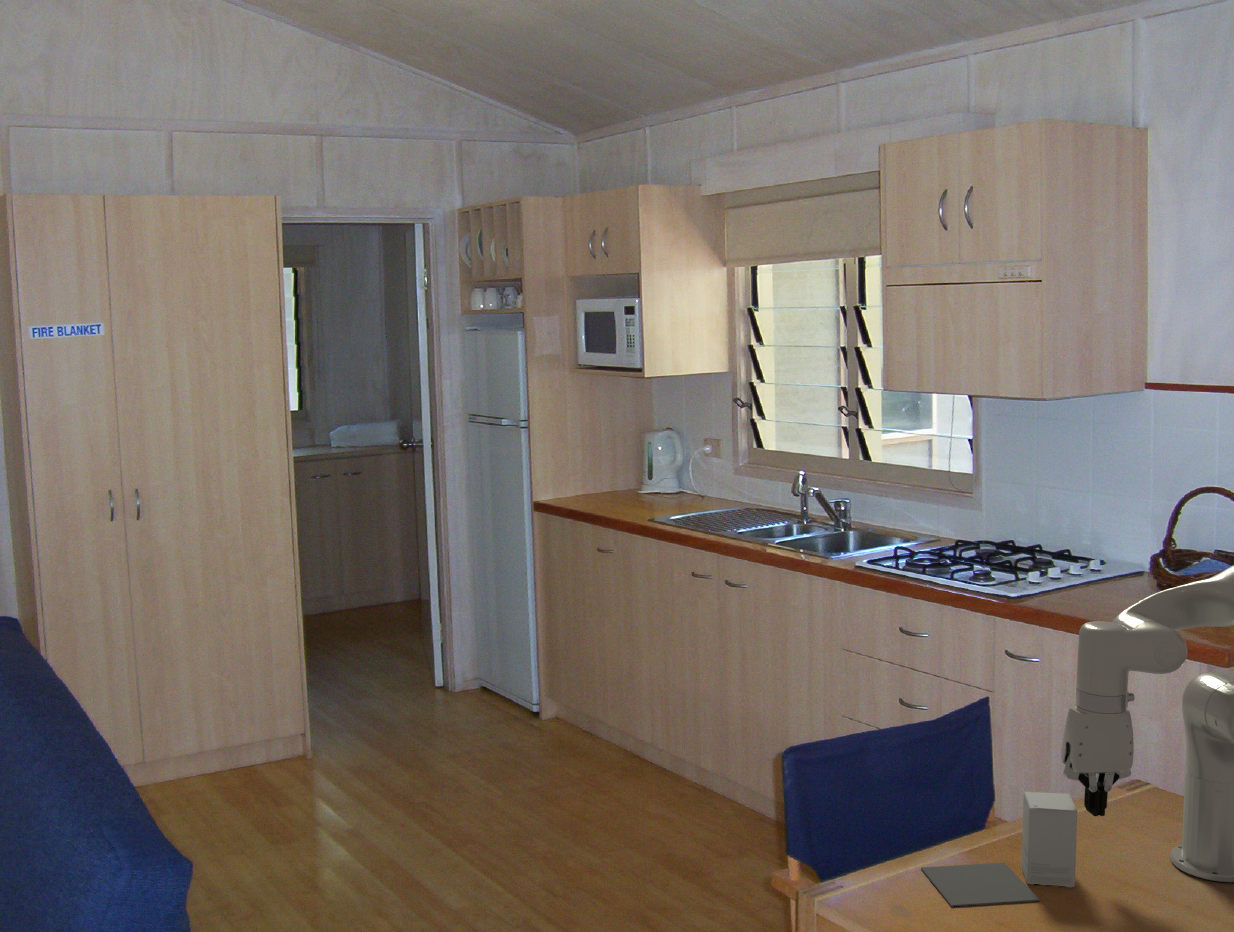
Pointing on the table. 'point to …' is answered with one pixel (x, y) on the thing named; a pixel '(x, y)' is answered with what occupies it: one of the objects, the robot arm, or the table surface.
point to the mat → (979, 884)
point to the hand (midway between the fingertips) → (1095, 812)
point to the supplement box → (1049, 839)
